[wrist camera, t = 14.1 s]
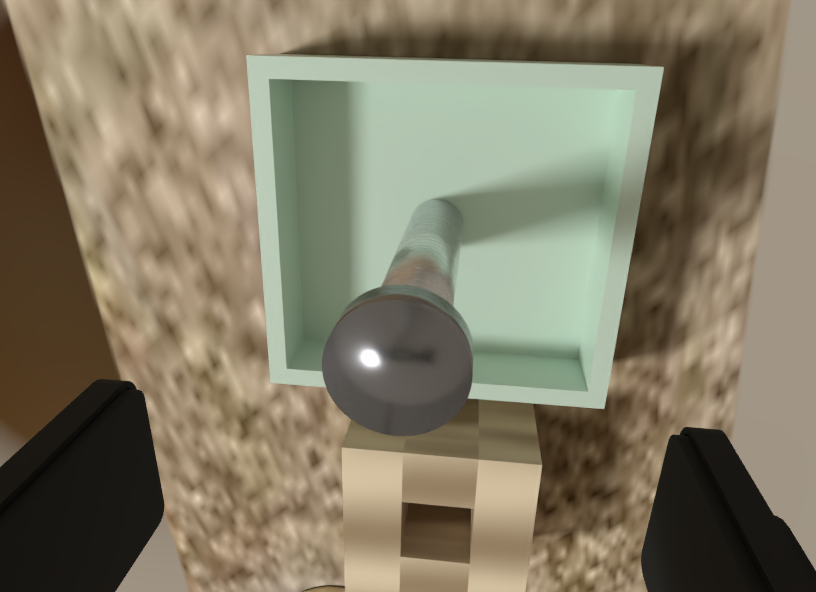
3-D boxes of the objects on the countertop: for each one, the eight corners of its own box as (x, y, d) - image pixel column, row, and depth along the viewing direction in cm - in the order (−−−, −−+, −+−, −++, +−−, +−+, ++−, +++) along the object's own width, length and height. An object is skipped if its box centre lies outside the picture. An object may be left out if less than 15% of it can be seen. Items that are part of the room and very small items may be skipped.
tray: (279, 53, 26) (246, 55, 22) (636, 63, 25) (663, 67, 21) (295, 343, 31) (270, 382, 28) (589, 364, 30) (604, 409, 26)
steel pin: (395, 180, 27) (319, 298, 15) (482, 185, 26) (477, 308, 14) (394, 262, 28) (324, 429, 16) (476, 267, 28) (467, 442, 16)
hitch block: (361, 390, 32) (341, 447, 28) (533, 403, 31) (542, 465, 27) (362, 521, 36) (345, 592, 31) (516, 537, 35) (522, 612, 30)
